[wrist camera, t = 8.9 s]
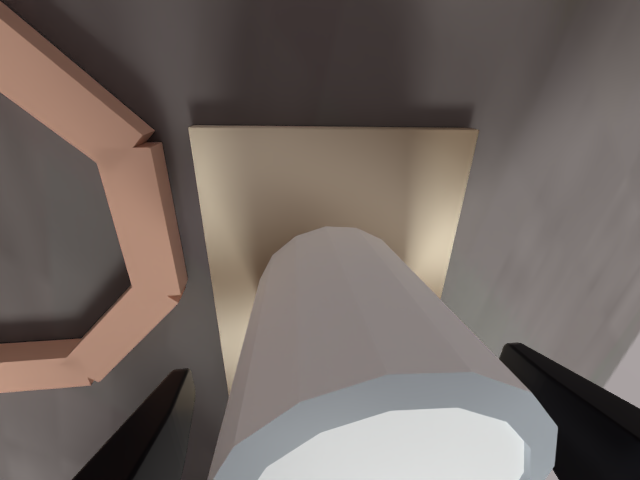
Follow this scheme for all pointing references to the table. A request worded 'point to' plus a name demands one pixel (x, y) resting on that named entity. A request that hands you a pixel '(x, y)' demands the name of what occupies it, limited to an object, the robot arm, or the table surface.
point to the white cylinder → (370, 378)
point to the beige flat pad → (322, 200)
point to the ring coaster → (124, 202)
